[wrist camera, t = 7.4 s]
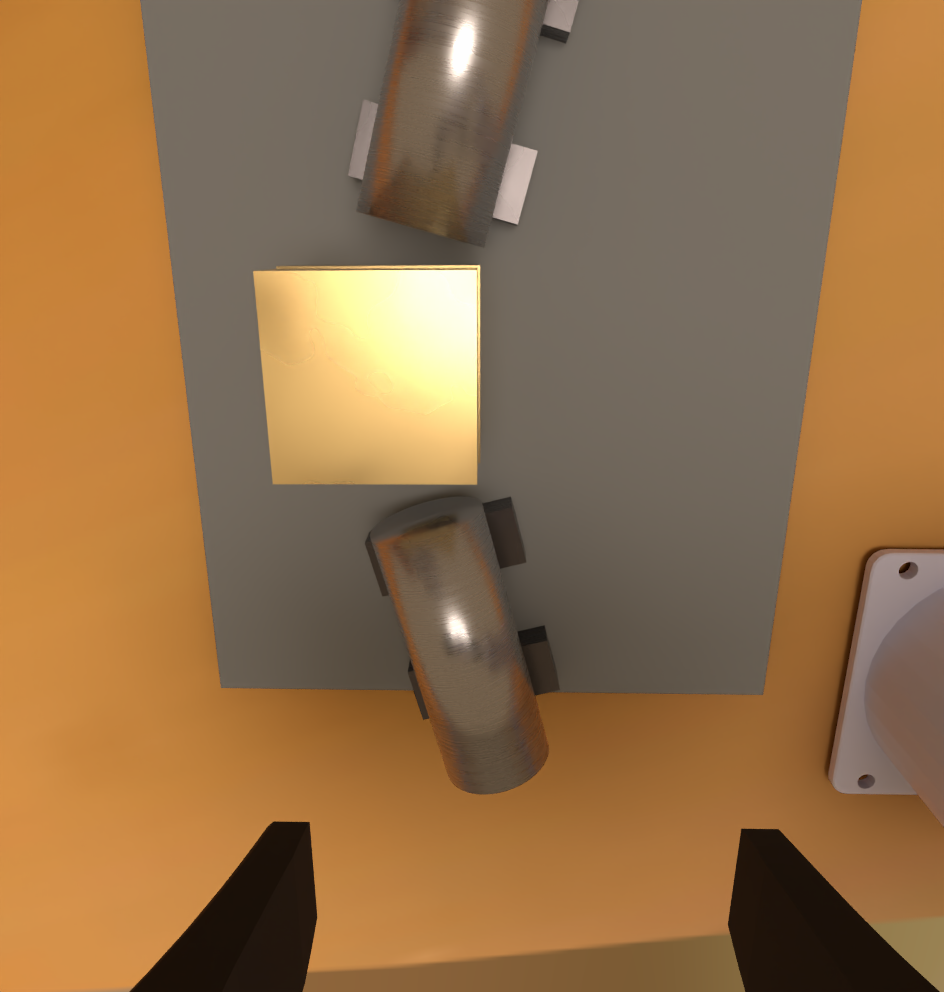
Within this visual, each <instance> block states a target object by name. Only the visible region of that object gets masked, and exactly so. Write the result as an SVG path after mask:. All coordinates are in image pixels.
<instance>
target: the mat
mask: <svg viewBox="0 0 944 992" xmlns="http://www.w3.org/2000/svg"><path fill="white" fill-rule="evenodd" d="M140 2H141V10H142V19H143V27H144V36H145V44H146V53H147V61H148V70H149V78H150V87H151V95H152V104H153V112H154V121H155V129H156V138H157V146H158V155H159V163H160V172H161V180H162V189H163V198H164V206H165V215H166V223H167V232H168V240H169V249H170V257H171V266H172V274H173V283H174V291H175V300H176V308H177V317H178V325H179V334H180V342H181V351H182V359H183V368H184V376H185V385H186V393H187V402H188V410H189V419H190V427H191V436H192V444H193V453H194V462H195V470H196V479H197V487H198V496H199V504H200V513H201V521H202V530H203V538H204V547H205V555H206V564H207V572H208V581H209V589H210V598H211V606H212V615H213V623H214V632H215V640H216V649H217V657H218V666H219V674H220V683H221V688H269V689H347V690H413V687H412V684H411V681H410V678H409V675H408V667H409V661H410V657H409V654H408V651H407V648H406V645H405V642H404V639H403V636H402V633H401V630H400V627H399V624H398V621H397V618H396V615H395V612H394V608H393V605H392V602H391V599H390V596H389V595H387V596H383V597H382V594H381V591H380V588H379V585H378V582H377V579H376V576H375V573H374V570H373V567H372V564H371V561H370V558H369V555H368V552H367V549H366V546H365V541H366V539H367V536H368V534H369V532H370V531H372V530H373V529H374V527H375V526H376V525H378V524H379V523H380V522H381V521H383V520H384V519H386V518H388V517H389V516H391V515H393V514H395V513H397V512H399V511H402V510H404V509H406V508H409V507H412V506H415V505H417V504H421V503H424V502H428V501H432V500H436V499H441V498H448V497H461V496H463V497H473V498H476V499H478V500H480V501H481V502H482V503H486V502H490V501H494V500H499V499H503V498H507V497H511V498H512V502H513V506H514V510H515V514H516V517H517V521H518V525H519V529H520V533H521V537H522V540H523V544H524V548H525V554H526V562H527V563H523V564H519V565H514V566H510V567H506V568H502V569H500V570H501V574H502V578H503V581H504V585H505V589H506V592H507V596H508V599H509V603H510V607H511V610H512V614H513V618H514V621H515V625H516V628H517V631H521V630H526V629H530V628H534V627H539V626H543V625H545V628H546V632H547V636H548V640H549V643H550V647H551V651H552V655H553V659H554V662H555V666H556V670H557V675H558V681H559V687H560V690H557V691H553V692H582V693H660V694H738V695H763V692H764V684H765V677H766V670H767V663H768V656H769V649H770V642H771V635H772V628H773V621H774V614H775V607H776V600H777V593H778V586H779V579H780V572H781V565H782V558H783V551H784V544H785V537H786V530H787V523H788V516H789V509H790V502H791V495H792V488H793V481H794V474H795V467H796V460H797V453H798V446H799V439H800V432H801V425H802V418H803V411H804V404H805V397H806V390H807V383H808V376H809V369H810V362H811V355H812V348H813V341H814V334H815V326H816V319H817V312H818V305H819V298H820V291H821V284H822V277H823V270H824V263H825V256H826V249H827V242H828V235H829V228H830V221H831V214H832V207H833V200H834V193H835V186H836V179H837V172H838V165H839V158H840V151H841V144H842V137H843V130H844V123H845V116H846V109H847V102H848V95H849V88H850V81H851V74H852V67H853V60H854V53H855V46H856V39H857V32H858V25H859V18H860V11H861V4H862V0H579V1H578V5H577V9H576V12H575V16H574V20H573V23H572V27H571V31H570V34H569V36H568V39H567V42H566V43H563V42H560V41H557V40H553V39H550V38H547V37H544V36H540V37H539V41H538V45H537V48H536V52H535V56H534V60H533V64H532V67H531V71H530V75H529V79H528V83H527V87H526V90H525V94H524V98H523V102H522V106H521V109H520V113H519V117H518V121H517V125H516V129H515V132H514V136H513V140H512V144H516V145H519V146H523V147H526V148H529V149H533V150H536V151H538V152H537V156H536V159H535V163H534V167H533V170H532V174H531V178H530V181H529V185H528V189H527V192H526V196H525V200H524V203H523V207H522V211H521V214H520V218H519V222H518V225H517V226H515V225H512V224H508V223H505V222H502V221H498V220H495V219H492V220H491V224H490V228H489V232H488V236H487V239H486V243H485V247H484V248H482V247H478V246H475V245H471V244H468V243H464V242H461V241H457V240H454V239H450V238H447V237H443V236H440V235H436V234H433V233H429V232H426V231H422V230H419V229H415V228H412V227H408V226H405V225H401V224H398V223H394V222H391V221H387V220H384V219H380V218H377V217H373V216H370V215H366V214H363V213H359V212H356V209H357V205H358V200H359V195H360V190H361V185H362V181H359V180H356V179H353V178H351V177H350V176H348V173H349V168H350V163H351V158H352V153H353V148H354V143H355V138H356V133H357V128H358V123H359V118H360V113H361V108H362V103H363V100H367V101H370V102H374V103H377V104H378V103H379V98H380V93H381V89H382V84H383V79H384V74H385V69H386V65H387V60H388V55H389V50H390V45H391V40H392V36H393V31H394V26H395V21H396V16H397V11H398V7H399V2H400V0H140ZM287 265H480V299H481V457H480V463H478V475H477V485H450V484H273V482H272V471H271V460H270V449H269V438H268V427H267V416H266V405H265V395H264V384H263V373H262V362H261V351H260V340H259V329H258V318H257V307H256V297H255V286H254V275H253V271H258V270H270V269H276V266H287Z"/></svg>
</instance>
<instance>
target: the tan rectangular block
mask: <svg viewBox="0 0 944 992" xmlns="http://www.w3.org/2000/svg"><path fill="white" fill-rule="evenodd" d="M253 275H254V286H255V297H256V307H257V318H258V329H259V340H260V351H261V362H262V373H263V384H264V395H265V405H266V416H267V427H268V438H269V449H270V460H271V471H272V482H273V484H450V485H477V475H478V463H480V457H481V299H480V265H287V266H276V269H270V270H258V271H253Z"/></svg>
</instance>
